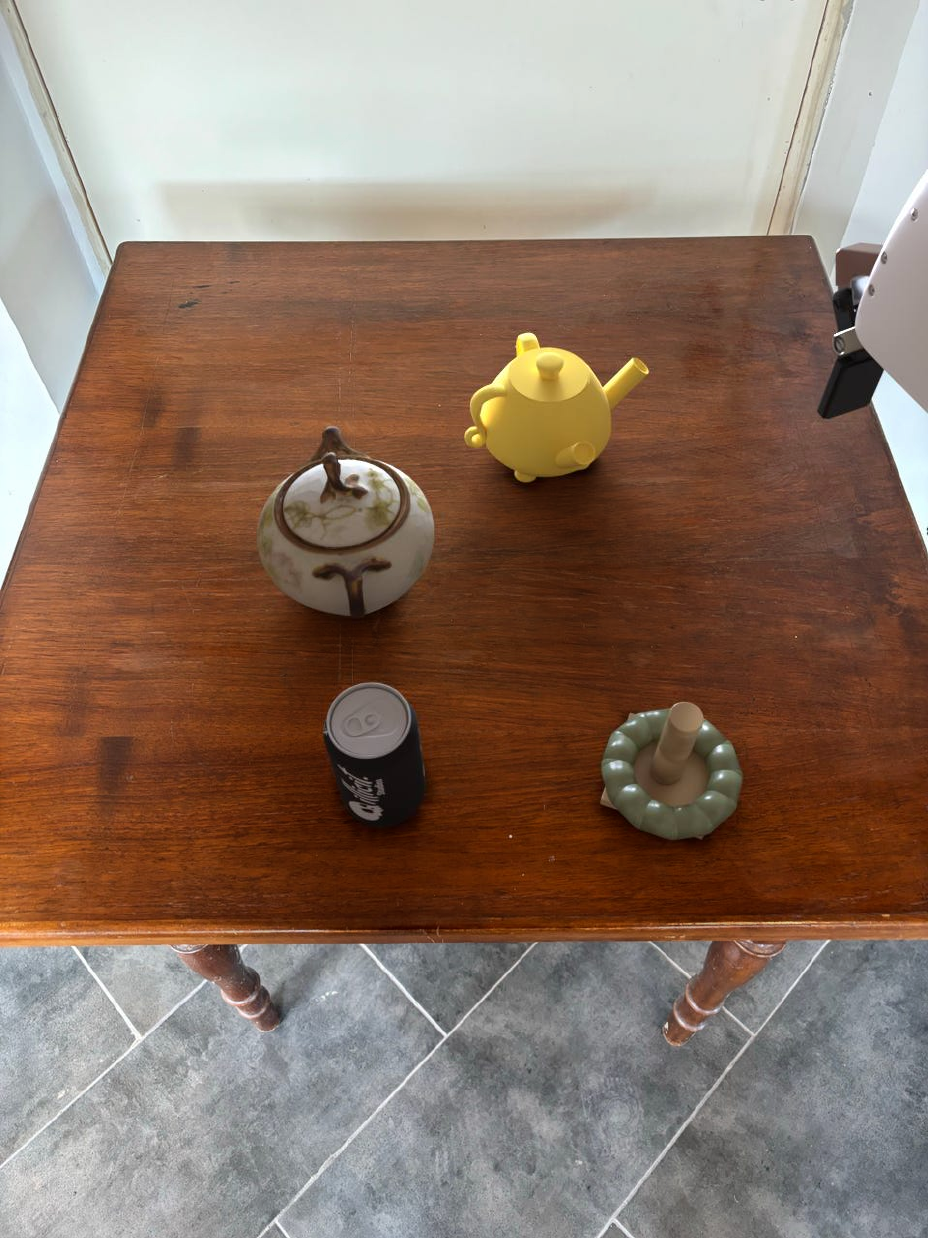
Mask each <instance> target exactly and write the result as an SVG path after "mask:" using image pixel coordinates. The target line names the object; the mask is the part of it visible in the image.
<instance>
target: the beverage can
mask: <svg viewBox="0 0 928 1238" xmlns="http://www.w3.org/2000/svg"><path fill="white" fill-rule="evenodd" d="M420 733H421V732H420V725H419V720H418V717H417V713H416V711H415V709H414V707H413V706H412V705H411V704H410V703H409V702H408V700H407V699H405V697H404V696H403V694H402V693H400V692H399V691H398V690H397V689H395V688H394V687H392V686H390V685H387V684H384V683H381V682H363V683H358V684H356V685H355V684H354V685H353V686H350V687H348V688H347V689H345V690H343V691H342V692H341V693H339V694H338V696H336V698H335V699H334V700H333V702H332V703H331V705H330V706H329V709H328V712H327V715H326V718H325V721H324V725H323V734H322V735H323V742H324V746H325V749H326V753H327V755H328V759H329V761H330V765H331V769H332V772H333V774H334V778H335V782H336V785H337V787H338V790H339V793H340V797H341V800H342V803H343V805H344V807H345V809H346V811H347V812H348V813H349V814H350V815H351V816H352V817H353V818H354V819H355V820H356V821H358V822H359V823H362V824H364V825H367V826H370V827H375V828H387V827H392V826H396V825H399V824H401V823H403V822H405V821H406V820H408V819H409V818H411V817H412V816H413V815H414V814H415V813H416V812H417V810H418V809H419V808H420V807H421V804H422V802H423V801H424V798H425V794H426V789H427V788H426V787H427V783H426V775H425V765H424V757H423V750H422V742H421V735H420Z"/></svg>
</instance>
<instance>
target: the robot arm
mask: <svg viewBox="0 0 928 1238" xmlns="http://www.w3.org/2000/svg"><path fill="white" fill-rule="evenodd" d="M834 260H835V265H834V266H835V287H837V291H835V292H834V293H833V296H832V300H831V301H832V307H833V313H834V319H835V323H836V328H837V333H836V334H834V335H833V336H832V339H831V348H832V349H833V351H832V352H834V354H835V355H836V356H837V357H836V359H835V362H834V364H833V367H832V370H831V372H830V375H829V378H828V380H827V382H826V386H825V388H824V391H823V393H822V396H821V399H820V400H819V401H820V402H819V404H818V406H817V409H816V413H817V414H818V415H819V416H820V418H821V419H824V420H831V419H833V418H837V417H840V416H842V415H845V414H849V413H851V412H854V411H857V410H860V409H863V408H866V407H867V406H868V405H869V404H870V403H871V401H872V399H873V397H874V394H875V393H876V390H877V387H878V385H879V383H880V381H881V378H882V376H883V374H884V372H886V373H887V374H888V375H889V376H890V377H891V378H892V379H893V381H894V382H896V383H897V385H899V386H900V387H901V389H903V390H904V391H905V393H907V394H908V396H910V397H911V398H912V399H913V400H914V402H915V403H916V404H917V405H918V406H920V407H921V408H922V410H923V411H924V412H926V414H928V169H927V170H926V172H925V173H924V175H923V176H922V177H921V179H920V180H919V182H918V183H917V185H916V187H915V188H914V189H913V191H912V193H911V194H910V196H909V198H908V199H907V201H906V203H905V204H904V207H902V210H901V212H900V214H899V215H898V217H897V219H896V220H895V223H894V224H893V226H892V227H891V230H890V231H889V234H888V236H887V238H886V240H885V242H884V244H877V243H869V242H857V243H854V244H849V245H847V246H844V247H840V248H838V249H837V251H836V252H835V258H834ZM926 531H927V532H926V535H927V536H928V526H927V527H926Z"/></svg>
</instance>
